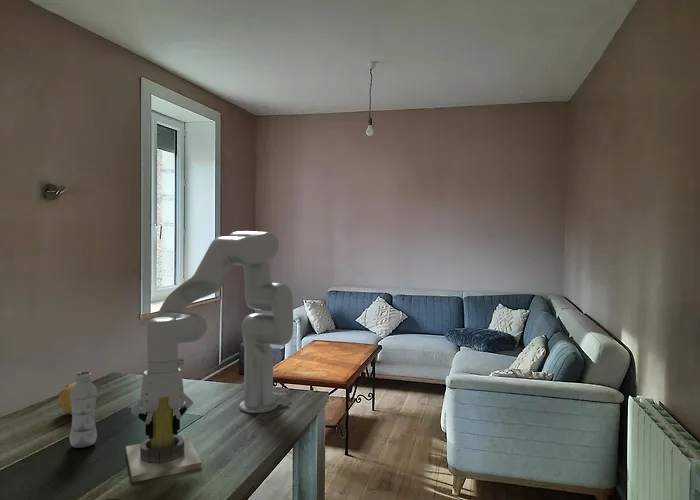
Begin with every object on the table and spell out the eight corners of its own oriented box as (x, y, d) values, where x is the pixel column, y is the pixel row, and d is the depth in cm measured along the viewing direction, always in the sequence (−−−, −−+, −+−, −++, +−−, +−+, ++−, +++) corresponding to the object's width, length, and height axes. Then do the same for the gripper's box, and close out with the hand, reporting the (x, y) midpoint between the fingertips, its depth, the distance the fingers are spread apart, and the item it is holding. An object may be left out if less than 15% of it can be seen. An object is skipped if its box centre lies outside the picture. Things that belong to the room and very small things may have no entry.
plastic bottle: (76, 440, 140) (75, 370, 139) (101, 440, 140) (100, 370, 139) (64, 451, 133) (64, 377, 132) (91, 450, 134) (90, 376, 133)
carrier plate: (188, 440, 141) (188, 425, 141) (201, 468, 125) (201, 450, 125) (126, 451, 133) (126, 435, 133) (131, 482, 118) (131, 463, 117)
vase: (166, 455, 126) (166, 399, 125) (144, 452, 127) (144, 397, 126) (179, 445, 132) (179, 391, 131) (158, 442, 133) (158, 389, 132)
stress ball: (97, 413, 163) (89, 388, 168) (96, 397, 156) (88, 371, 162) (62, 425, 157) (55, 398, 162) (60, 408, 151) (53, 382, 156)
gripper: (194, 358, 136) (194, 424, 136) (125, 366, 128) (125, 435, 128) (199, 365, 129) (199, 434, 130) (127, 373, 121) (127, 447, 122)
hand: (162, 434), depth 129 cm, fingers closed on vase, 5 cm apart
